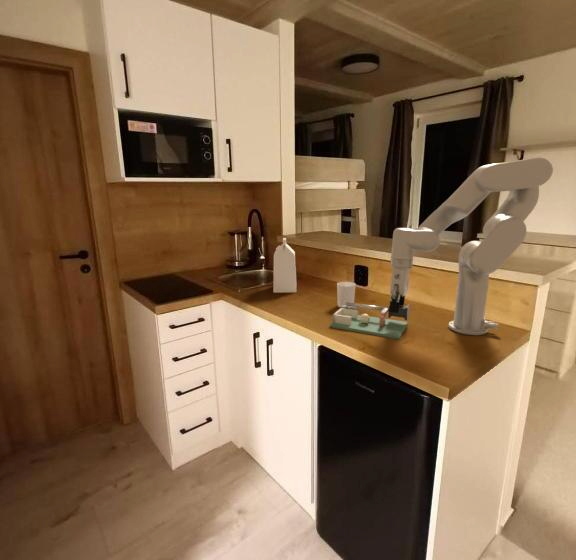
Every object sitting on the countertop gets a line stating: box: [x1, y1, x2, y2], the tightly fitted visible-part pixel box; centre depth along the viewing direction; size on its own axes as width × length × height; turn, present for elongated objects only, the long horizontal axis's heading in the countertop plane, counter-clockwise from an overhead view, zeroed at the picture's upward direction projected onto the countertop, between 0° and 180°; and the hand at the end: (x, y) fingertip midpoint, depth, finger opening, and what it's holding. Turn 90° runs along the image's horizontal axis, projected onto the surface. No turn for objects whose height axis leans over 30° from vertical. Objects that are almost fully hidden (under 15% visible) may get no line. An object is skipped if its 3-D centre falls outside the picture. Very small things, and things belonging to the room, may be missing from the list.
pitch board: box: [329, 305, 409, 340], centre depth 133 cm, size 25×15×4 cm, turn 62°
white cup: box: [336, 281, 357, 309], centre depth 155 cm, size 8×8×10 cm
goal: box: [332, 307, 359, 325], centre depth 136 cm, size 7×9×3 cm
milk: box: [272, 237, 298, 294], centre depth 181 cm, size 12×12×26 cm
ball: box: [360, 313, 370, 323], centre depth 133 cm, size 4×4×4 cm
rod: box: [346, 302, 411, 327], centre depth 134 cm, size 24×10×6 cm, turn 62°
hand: (396, 308), depth 132 cm, fingers open, 9 cm apart
